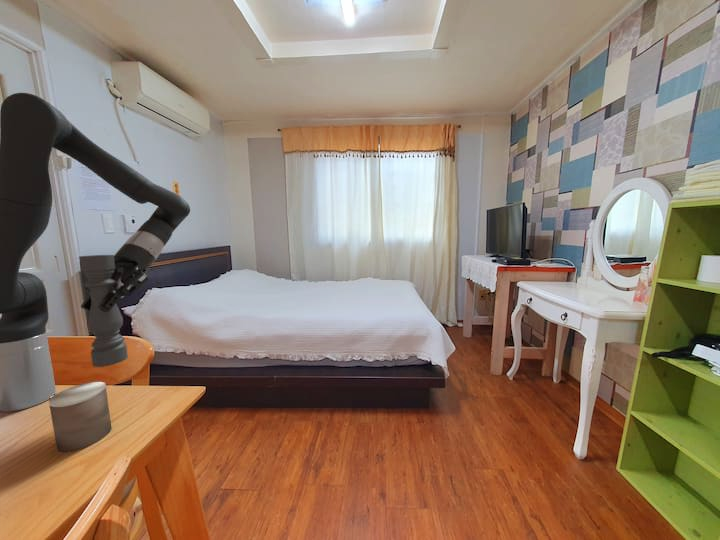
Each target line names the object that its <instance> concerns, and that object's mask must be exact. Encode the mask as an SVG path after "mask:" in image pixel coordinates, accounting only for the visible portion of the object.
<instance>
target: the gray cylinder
mask: <svg viewBox="0 0 720 540" xmlns="http://www.w3.org/2000/svg"><path fill="white" fill-rule="evenodd" d="M48 404H49V410H50V416H51V421H52V422H51V423H52V427H53V432H54V440H55V444H56V445H55V446H56V450H57V451H58V452H59V453H70V452H76V451H78V450H81V449H85V448H87V447H89V446H92V445H94V444H96V443H97V442H99V441H101V440H102V439H103V438H105V437H106V436H108V434H110V432H111V431H112V421H111V413H110V409H109V406H110V405H109V399H108V393H107V386H106V382H102V381H92V382H85V383H81V384H78V385H75V386H72V387H68V388H67V389H64V390H61V391H60V392H56V394H55V395H54V396H53V397H52V398H50V399H48Z"/></svg>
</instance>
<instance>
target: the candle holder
mask: <svg viewBox="0 0 720 540" xmlns="http://www.w3.org/2000/svg"><path fill="white" fill-rule="evenodd" d="M114 255H115V254H100V255H99V254H98V255H97V254H96V255H94V254H93V255H80V256H79V257H78V259H79V260H78V261H79V266H80V272H82V273H83V275H84V276H85V277H86V279H87V281H86V282H84V287H88V289H90V292H89V295H90V296H91V307H90V311H88V312H89V313H88V319H87V323H86V324H87V326H86V327H87V329H88V330H89V332H91V333H93V334H94V335H93V337H95V339H94V340H93V342H92V343H91V348H92V349H91V350H90V354H91V362H92V363H91V365H92V366H93V367H95V368H100V367H101V368H102V367H109V366H114V365H116V364H119V363H122V362H123V361H126V360H127V359H128V358H129V357H128V356H129V355H128V346H127V343H126V342H125V337H124V336H122V334H121V333H120V332H121V330H120V329H121V328H122V326H123V325H124V318H123V316H122V314H121V311H120V309H119V306H118V304H117V303H116V304H115V305H114V306H113V308H111V309H110V311H108V312H104V311H102V310H101V309H99V308H98V306H99V305H100V303H101V302H102V301H103V300H104V298H105V297H106V296H107V294H108V293H111V292H110V291H111V289H112V287H113V285H114V284H115V281H114V280H113V279H111V277H112V275H113V273H114V269H115V261H114Z"/></svg>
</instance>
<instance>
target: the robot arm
mask: <svg viewBox="0 0 720 540" xmlns="http://www.w3.org/2000/svg"><path fill="white" fill-rule="evenodd" d="M53 149H55V150H57V151H59V152H60V153H63V154H65V155H67V156H69V157H70V158H72V159H74V160H75V161H77V162H78V163H80V164H82V165H83V166H85V167H86V168H87V169H89V170H90V171H92V172H93V173H94V174H96V176H98V177H99V178H101V180H103V181H104V182H106V183H108V184H109V185H110V186H111V187H113V188H114V189H116V190H117V191H118V192H121V194H123V195H125V196H127V197H128V198H129V199H131V200H132V201H134V202H136V203H138V204H141V205H144V204H147V203H149V204H152V205H154V206H157V207H156V209H155V210H154V211H153V212H152V214H151V215H150V217H149V219H147V220H146V221H144V223H143V224H142V225H140V227H139V228H138V229H137V230H136V231H135V233H133V234H131V236H129V238H128V239H127V240H126V241H125V242H124V244H123V245H122V246H121V247H119V249H118V251H116V253H115V254H113V255H114V261H115V269H114V273H113V275H112V277H111V279H113V280H114V281H115V284H114V285H113V287H112V289H111V291H110V292H111V293H108V294H107V296H106V297H105V298H104V300H103V301H102V302H101V303H100V305H99V306H98V308H99V309H101V310H102V311H104V312H108V311H110V309H111V308H113V306H114V305H115V304H117V302H118V301H119V300H120V299H122V298H124V297H125V296H126V297H131V296H132V295H133V294H134V293H135V292H136V291H137V290H138V289H140V288H141V287H142V285H144V284H145V283H146V282H147V281H148V280H149V279H150V277H149V276H148V275H147V274H146V273H147V272H148V271H149V269H150V268H151V267H152V265H153V264H154V263H155V261H156V260H157V259H158V257H159V256H160V254H161V253H162V250H163V249H164V247H165V246H166V245H167V244H168V242H169V240H170V239H171V237H172V236H173V233H174V231H175V230H176V229H177V228H178V227H179V226H180V225H181V223H183V221H184V220H185V219H186V218H187V217H188V216H189V215H190V212H191V207H190V205H189V203H188V201H187V200H186V199H185V198H184V197H182V196H181V195H179V194H178V193H175V192H173V191H171V190H169V189H167V188H165V187H163V186H160V185H159V184H155V182H153V181H151V180H150V179H148V178H147V177H146V176H144V175H143V174H141V173H140V172H138V171H137V170H136V169H134V168H133V167H131V166H129V165H128V164H127V163H125V162H123V161H122V160H121V159H119V158H117V157H116V156H114V155H112V154H110V153H109V152H107V151H106V150H104V149H103V148H101V147H100V146H99V145H97V144H96V143H95V142H93V141H92V140H91V139H90V138H88V137H87V136H86V135H85V134H84V133H83V132H81V130H79V129H78V128H77V127H76V126H75V125H74V124H73V123H72V122H70V121H69V120H68V119H67V117H66V116H65V115H64V114H63V113H62V112H61V111H60V110H59V109H57V108H56V107H55V106H53V104H51V103H50V102H48V101H46V100H45V99H43V98H42V97H40V96H38V95H35V94H33V93H29V92H16V93H12V94H10V95H8V96H6V97H5V98H4V100H3V101H2V102H1V105H0V315H1V316H0V411H1V412H2V413H10V412H16V411H21V410H24V409H29V408H31V407H34V406H37V405H39V404H42V403H44V402H46V401H49V400H50V399H49V398H50V397H51V396H53V395H54V393H55V392H56V393H57V389H56V384H55V377H54V371H53V365H52V358H51V353H50V346H49V341H48V336H47V335H48V334H47V329H46V326H47V323H48V321H49V307H48V296H47V290H46V287H45V286H46V285H44V283H43V281H42V280H41V279H40V278H39V277H38V276H37V275H35V274H32V273H30V272H24V271H23V272H21V271H19V270H20V267H21V264H22V261H23V258H24V257H25V255H26V254H27V252H28V251H29V250H30V248H31V247H32V246H33V245H34V244H35V243H36V242H37V241H38V240H39V239H40V237H41V236H42V235H43V234H44V233H45V231H46V230H47V227H48V226H49V222H50V218H51V217H50V216H51V212H52V207H53V190H52V183H51V179H50V178H51V177H50V171H49V167H50V165H49V164H50V157H51V154H52V150H53ZM85 290H86V291H87V292H89V293H90V289H88V287H86V288H85ZM90 307H91V296H90V294H89V295H88V296H87V297H86V299H85V300H84V301H83V302H82V303H81V305H80V308H81V309H83V310H85V311H86V312H90Z"/></svg>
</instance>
